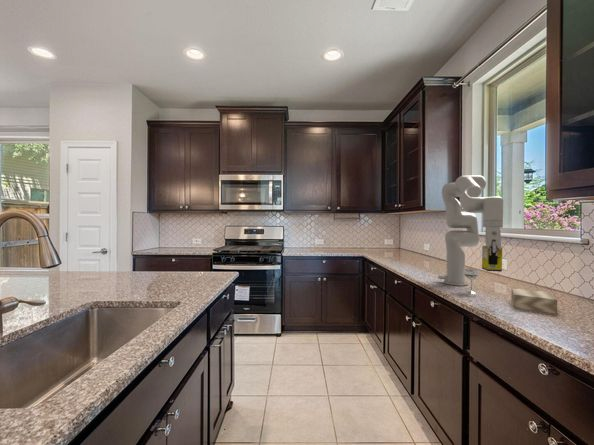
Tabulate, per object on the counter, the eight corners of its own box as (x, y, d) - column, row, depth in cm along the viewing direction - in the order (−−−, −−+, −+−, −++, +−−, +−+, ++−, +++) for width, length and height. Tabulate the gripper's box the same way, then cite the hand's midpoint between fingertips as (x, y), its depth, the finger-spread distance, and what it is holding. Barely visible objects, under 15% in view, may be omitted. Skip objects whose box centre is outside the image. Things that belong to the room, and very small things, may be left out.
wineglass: (482, 293, 146) (482, 270, 146) (472, 294, 144) (472, 271, 144) (470, 290, 153) (470, 268, 153) (460, 291, 151) (461, 268, 151)
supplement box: (502, 271, 127) (502, 247, 126) (487, 271, 128) (487, 246, 127) (495, 269, 132) (496, 245, 132) (481, 268, 134) (482, 245, 133)
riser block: (513, 308, 123) (513, 294, 123) (511, 300, 135) (511, 288, 135) (557, 314, 115) (557, 299, 115) (550, 305, 127) (550, 292, 127)
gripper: (506, 225, 120) (505, 267, 121) (499, 223, 135) (498, 261, 136) (484, 224, 123) (484, 265, 124) (481, 223, 139) (480, 259, 139)
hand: (491, 262), depth 130 cm, fingers closed on supplement box, 7 cm apart
